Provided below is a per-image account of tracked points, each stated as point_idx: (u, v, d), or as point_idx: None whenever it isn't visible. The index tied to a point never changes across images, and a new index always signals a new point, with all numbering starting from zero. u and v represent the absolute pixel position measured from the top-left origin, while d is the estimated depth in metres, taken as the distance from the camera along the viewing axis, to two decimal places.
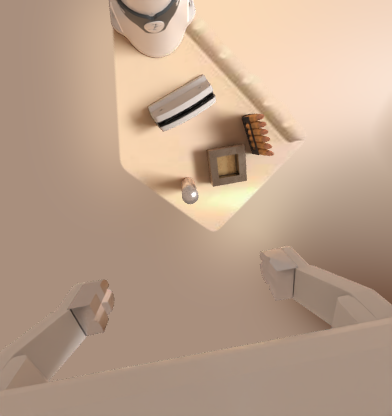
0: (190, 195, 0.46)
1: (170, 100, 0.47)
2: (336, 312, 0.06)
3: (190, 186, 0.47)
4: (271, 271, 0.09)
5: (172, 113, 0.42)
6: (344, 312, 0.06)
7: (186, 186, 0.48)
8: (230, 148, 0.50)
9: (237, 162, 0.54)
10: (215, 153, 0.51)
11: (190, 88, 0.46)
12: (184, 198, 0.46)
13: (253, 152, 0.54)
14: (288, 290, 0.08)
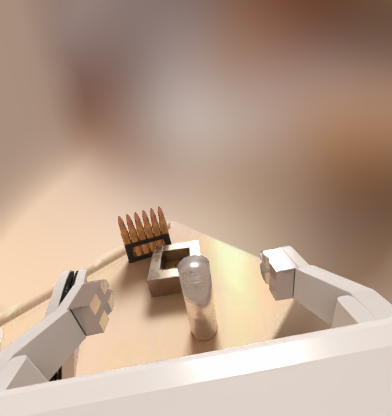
0: (191, 265, 0.23)
1: None
2: (336, 312, 0.06)
3: None
4: (271, 271, 0.09)
5: (52, 311, 0.24)
6: (344, 312, 0.06)
7: (181, 286, 0.24)
8: (152, 258, 0.38)
9: (176, 255, 0.41)
10: (152, 273, 0.34)
11: None
12: (196, 273, 0.22)
13: None
14: (288, 290, 0.08)
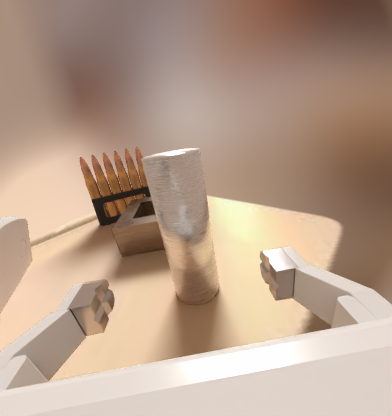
0: (167, 154, 0.13)
1: None
2: (336, 312, 0.06)
3: None
4: (270, 271, 0.09)
5: None
6: (344, 312, 0.06)
7: (151, 197, 0.13)
8: (126, 209, 0.27)
9: None
10: (122, 221, 0.24)
11: None
12: (174, 155, 0.11)
13: None
14: (288, 290, 0.08)
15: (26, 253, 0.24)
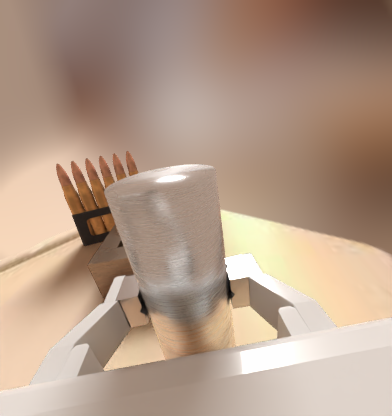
0: (155, 177, 0.07)
1: None
2: (278, 323, 0.06)
3: None
4: None
5: None
6: (283, 323, 0.06)
7: None
8: (111, 231, 0.22)
9: None
10: (103, 251, 0.18)
11: None
12: (165, 188, 0.05)
13: None
14: (244, 298, 0.08)
15: None
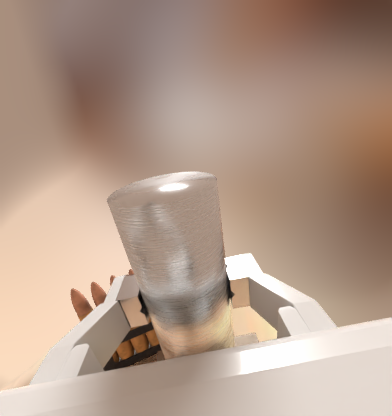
0: (157, 186, 0.07)
1: None
2: (278, 323, 0.06)
3: None
4: (228, 279, 0.09)
5: None
6: (283, 323, 0.06)
7: None
8: None
9: None
10: None
11: None
12: (167, 198, 0.06)
13: None
14: (244, 298, 0.08)
15: None
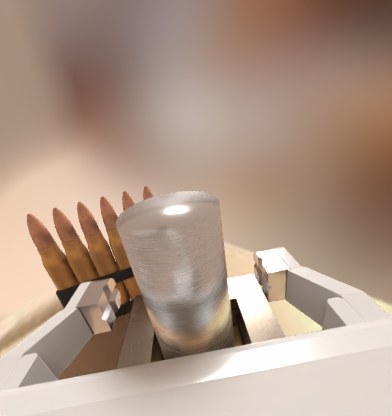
0: (162, 208, 0.07)
1: None
2: (326, 314, 0.06)
3: None
4: (263, 272, 0.09)
5: None
6: (333, 314, 0.06)
7: None
8: (124, 348, 0.12)
9: None
10: None
11: None
12: (173, 225, 0.06)
13: None
14: (280, 291, 0.08)
15: None
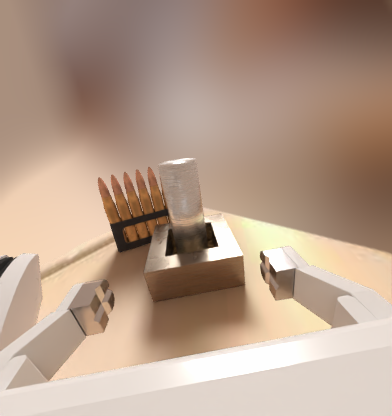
0: (174, 162, 0.19)
1: None
2: (336, 312, 0.06)
3: None
4: (270, 271, 0.09)
5: None
6: (344, 312, 0.06)
7: (163, 190, 0.20)
8: (153, 240, 0.24)
9: None
10: (153, 260, 0.20)
11: None
12: (179, 164, 0.18)
13: None
14: (288, 290, 0.08)
15: (38, 293, 0.21)
